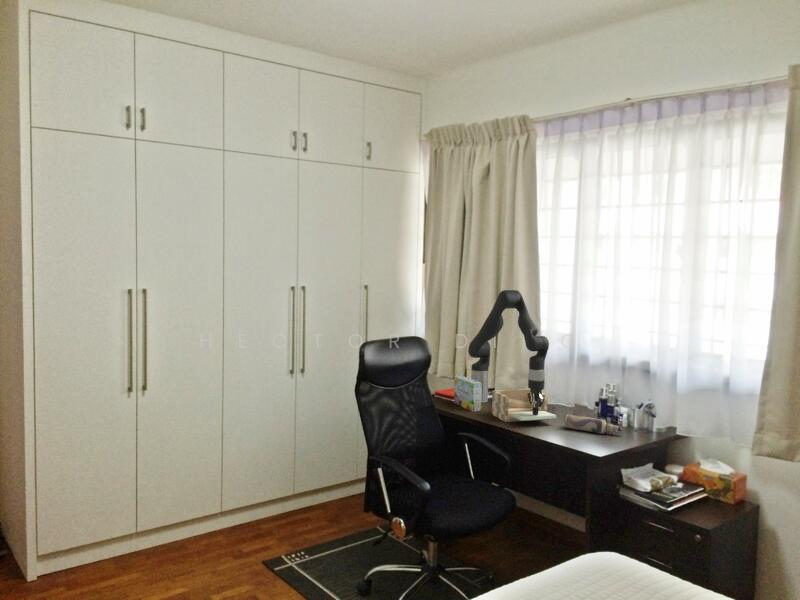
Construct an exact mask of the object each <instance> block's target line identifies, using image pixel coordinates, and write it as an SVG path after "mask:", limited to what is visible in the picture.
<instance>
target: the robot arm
mask: <svg viewBox="0 0 800 600" xmlns="http://www.w3.org/2000/svg"><path fill="white" fill-rule="evenodd" d="M506 309H516V311H517V312H518V318H517V319H518V320H517V325H518V328H519V330H520V331H521V333H522V335H523V338H524V343H525V347H526V349H527V350H528V351H529V352H536V354H534V355H531V356H530V357H529V361H528V366H529V367H528V374H527V375H528V380H527V389H530V393H528V398H529V401H530V404H531V405H532V407H533V415H538V407H541V406H542V404H543V402H544V400H545V399H544V398H542V393H543V392H542V390H544V389H545V383H546V381H545V380H546V379H545V377H546V373H545V361H546V357H547V354H548V351H549V347H550V342H549V339H548V337H547V336H545V335H538V333H539V330H538V328H537V326H536V324H535V323H534V321H533V319H532V317H531V316H530V314H529V311H528V308H527V305H526V302H525V300H524V297H523V295H522V294H521V292H520V291H519V290H516V289H503V290H501V291H500V292H499V294H498V295H497V298H496V300H495V302H494V304H493V306H492V309H491V311H490V312H489V314H488V316H487V317H486V319H485V320H484V322H483V325H482V326H481V328H480V329H479V331H478V333H477V334H476V335H475V336H474V338H472V340H471V342H469V345H468V351H467V352H468V355H469V356H470V357H471V358H472V359H473V358H475V359H478V358H479V359H478V361H476V362H474V363H472V364H471V375H470V377H471V378H470V379H472V380H475V381H478V382H481V383H482V395H481V404H482V403H487V402H488V399H489V397H488V396H489V368H490V360H491V359H490V358H491V345H490V342H489V341H490V340H492V339H493V338H496V336H497V335H498V334H499V333H500V332H501V330H502V328H503V326H504V324H505V323H504V317H503V312H504V311H505V310H506Z"/></svg>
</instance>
